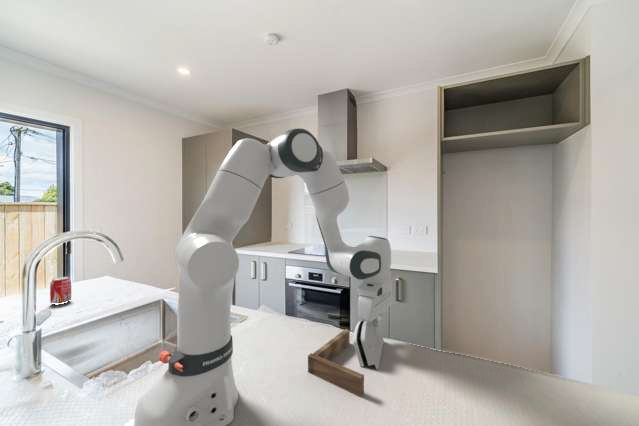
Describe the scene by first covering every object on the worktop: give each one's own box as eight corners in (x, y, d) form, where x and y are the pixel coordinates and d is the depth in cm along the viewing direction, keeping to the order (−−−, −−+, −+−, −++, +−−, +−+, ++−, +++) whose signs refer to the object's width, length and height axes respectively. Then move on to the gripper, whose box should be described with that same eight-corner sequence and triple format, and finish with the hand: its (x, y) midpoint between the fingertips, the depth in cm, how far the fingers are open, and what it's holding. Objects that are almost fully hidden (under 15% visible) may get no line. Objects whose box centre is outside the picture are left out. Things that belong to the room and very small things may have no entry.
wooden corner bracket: (361, 397, 60) (361, 378, 60) (307, 372, 69) (307, 355, 69) (390, 358, 76) (390, 343, 76) (344, 341, 85) (344, 328, 85)
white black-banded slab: (378, 370, 70) (365, 334, 71) (361, 372, 71) (349, 337, 72) (384, 340, 86) (373, 311, 87) (370, 343, 87) (360, 314, 88)
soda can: (50, 303, 121) (50, 278, 121) (71, 299, 126) (71, 275, 126) (49, 307, 116) (49, 281, 116) (71, 303, 121) (70, 278, 120)
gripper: (380, 276, 96) (380, 313, 96) (354, 290, 79) (354, 334, 79) (397, 279, 92) (397, 317, 92) (373, 294, 75) (373, 340, 75)
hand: (377, 325), depth 85 cm, fingers closed
